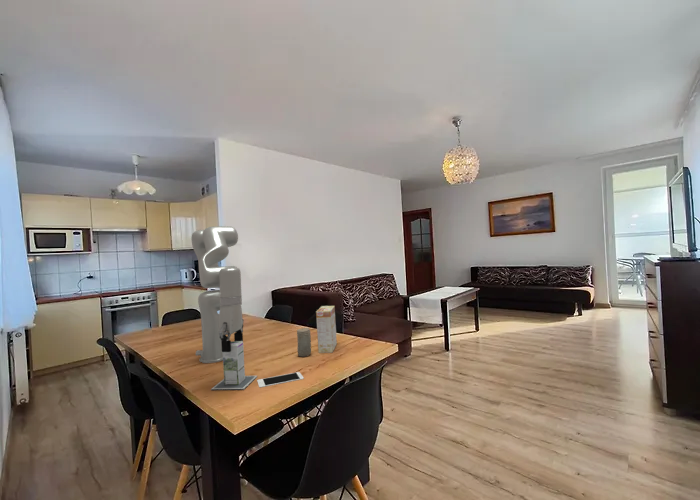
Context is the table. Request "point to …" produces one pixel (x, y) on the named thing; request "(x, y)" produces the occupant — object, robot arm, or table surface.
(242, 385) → the mat
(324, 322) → the coffeecake box
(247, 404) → the table surface
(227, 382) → the syrup box
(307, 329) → the carving
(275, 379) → the cell phone
